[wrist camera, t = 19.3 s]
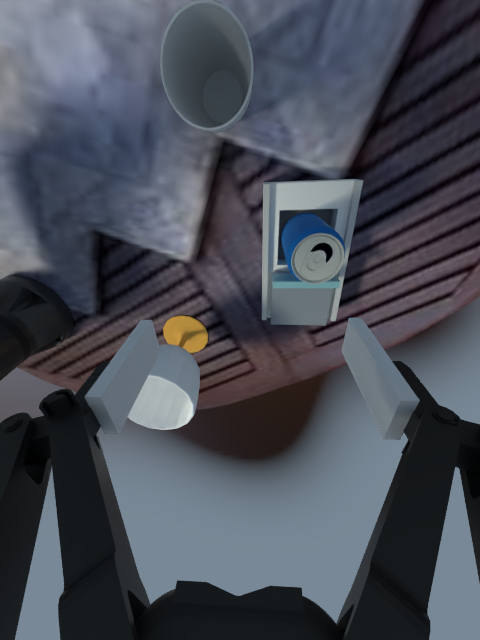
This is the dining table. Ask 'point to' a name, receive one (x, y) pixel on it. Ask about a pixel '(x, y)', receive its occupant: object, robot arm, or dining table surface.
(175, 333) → the cup
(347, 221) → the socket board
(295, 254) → the beverage can
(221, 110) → the cup
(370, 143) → the dining table surface
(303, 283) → the shutter
